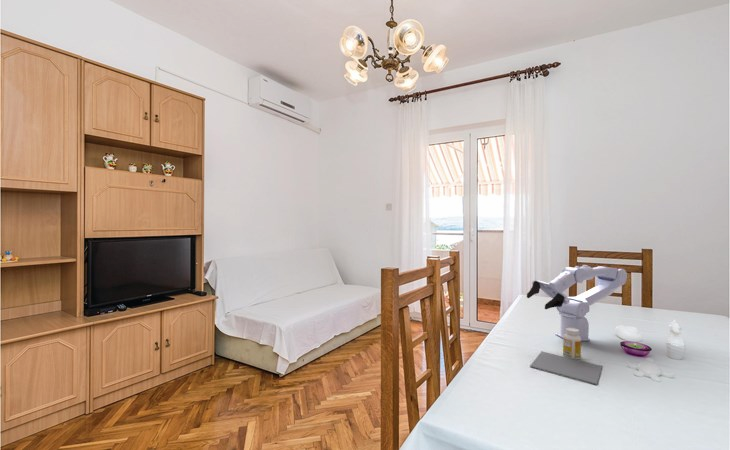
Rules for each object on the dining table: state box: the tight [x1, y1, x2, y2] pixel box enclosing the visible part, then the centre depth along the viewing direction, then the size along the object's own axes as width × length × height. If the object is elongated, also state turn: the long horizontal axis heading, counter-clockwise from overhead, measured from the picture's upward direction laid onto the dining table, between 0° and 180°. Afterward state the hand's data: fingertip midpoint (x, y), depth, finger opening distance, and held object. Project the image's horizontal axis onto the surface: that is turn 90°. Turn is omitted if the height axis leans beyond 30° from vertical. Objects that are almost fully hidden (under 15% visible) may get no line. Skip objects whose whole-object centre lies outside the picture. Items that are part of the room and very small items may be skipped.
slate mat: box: [529, 350, 603, 386], centre depth 109 cm, size 16×18×1 cm
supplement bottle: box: [562, 328, 582, 360], centre depth 117 cm, size 5×5×10 cm
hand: (536, 301), depth 128 cm, fingers open, 7 cm apart
